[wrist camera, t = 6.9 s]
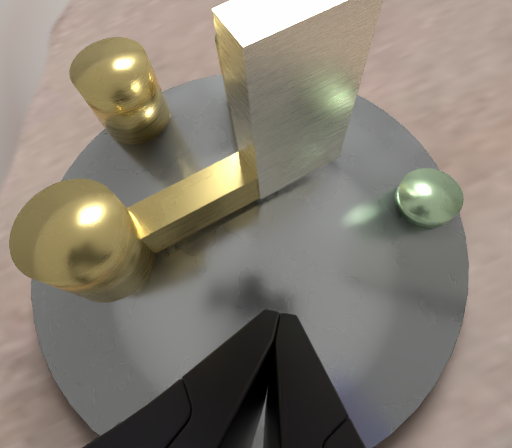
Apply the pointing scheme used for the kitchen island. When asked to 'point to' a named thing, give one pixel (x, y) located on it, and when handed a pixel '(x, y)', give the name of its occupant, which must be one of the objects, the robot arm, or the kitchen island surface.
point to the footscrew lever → (225, 171)
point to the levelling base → (261, 256)
